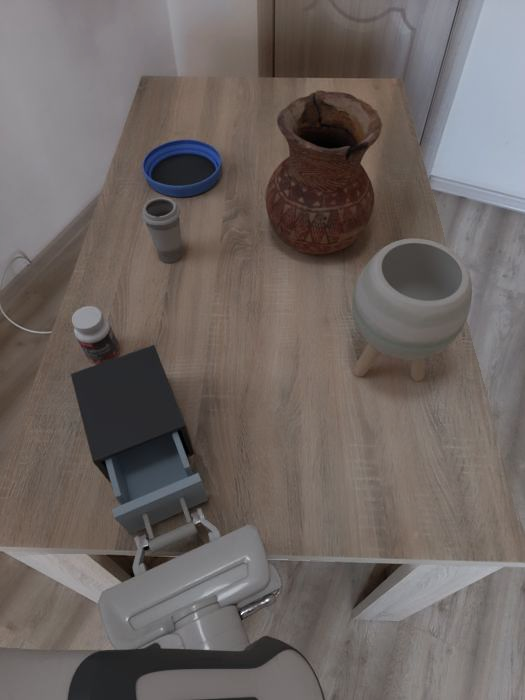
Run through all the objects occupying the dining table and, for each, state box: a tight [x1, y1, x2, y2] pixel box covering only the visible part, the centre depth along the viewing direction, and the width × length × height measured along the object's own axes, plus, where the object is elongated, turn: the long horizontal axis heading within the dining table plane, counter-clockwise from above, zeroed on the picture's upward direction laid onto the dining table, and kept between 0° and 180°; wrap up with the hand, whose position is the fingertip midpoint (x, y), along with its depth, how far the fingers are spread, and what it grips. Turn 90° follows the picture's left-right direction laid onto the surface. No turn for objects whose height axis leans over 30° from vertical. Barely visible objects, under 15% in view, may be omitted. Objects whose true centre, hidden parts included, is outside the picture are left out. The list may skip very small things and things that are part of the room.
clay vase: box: [265, 90, 383, 255], centre depth 90 cm, size 22×21×25 cm
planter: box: [351, 238, 473, 382], centre depth 72 cm, size 16×16×22 cm
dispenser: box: [70, 344, 196, 484], centre depth 71 cm, size 15×13×10 cm
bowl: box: [142, 138, 223, 198], centre depth 110 cm, size 18×18×4 cm
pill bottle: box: [71, 305, 120, 365], centre depth 79 cm, size 6×6×10 cm
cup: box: [141, 196, 183, 264], centre depth 91 cm, size 7×7×12 cm
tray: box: [105, 431, 209, 554], centre depth 65 cm, size 18×11×8 cm, turn 24°
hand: (168, 523), depth 61 cm, fingers closed on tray, 6 cm apart
